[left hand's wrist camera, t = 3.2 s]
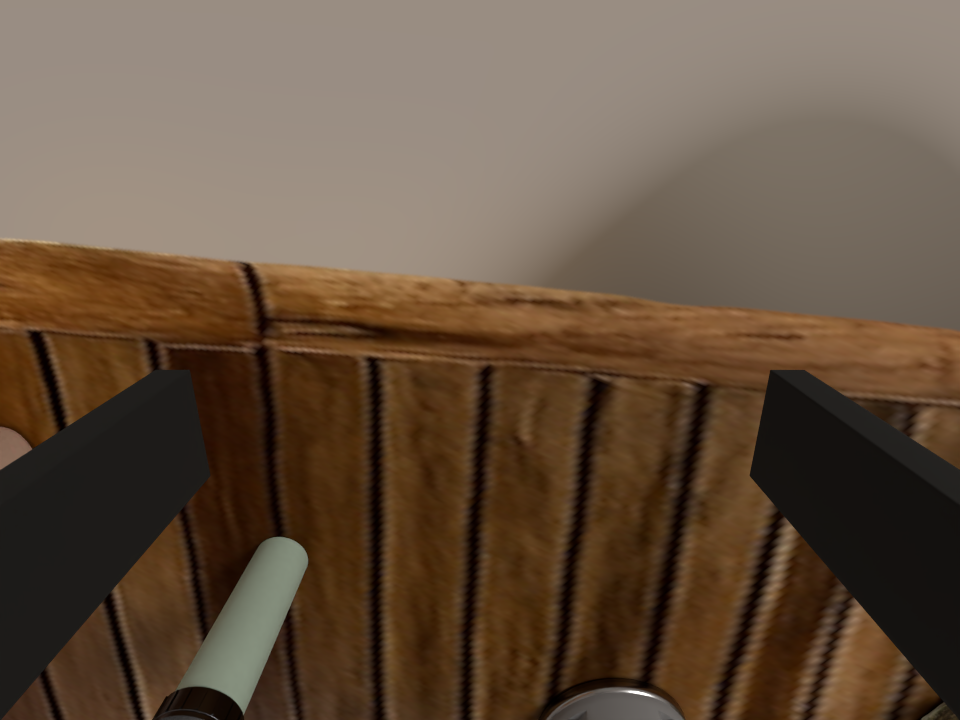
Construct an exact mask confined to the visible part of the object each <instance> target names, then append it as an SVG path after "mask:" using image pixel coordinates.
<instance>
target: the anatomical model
mask: <svg viewBox="0 0 960 720" xmlns="http://www.w3.org/2000/svg"><path fill="white" fill-rule="evenodd" d="M30 450H32V448H31V446H30V445H29V444H28V442H27V441H26V440H25V439H24V438H23V437H22V436H21V435H20V434H18V433H17V432H15V431H13V430H11V429H8V428H5V427H0V470H1V469H2V468H4V467H6V466H7V465H9V464H10V463H12V462H13V461H15V460H16V459H18V458H20V457H21V456H23V455H24V454H26V453H27V452H29V451H30Z"/></svg>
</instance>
